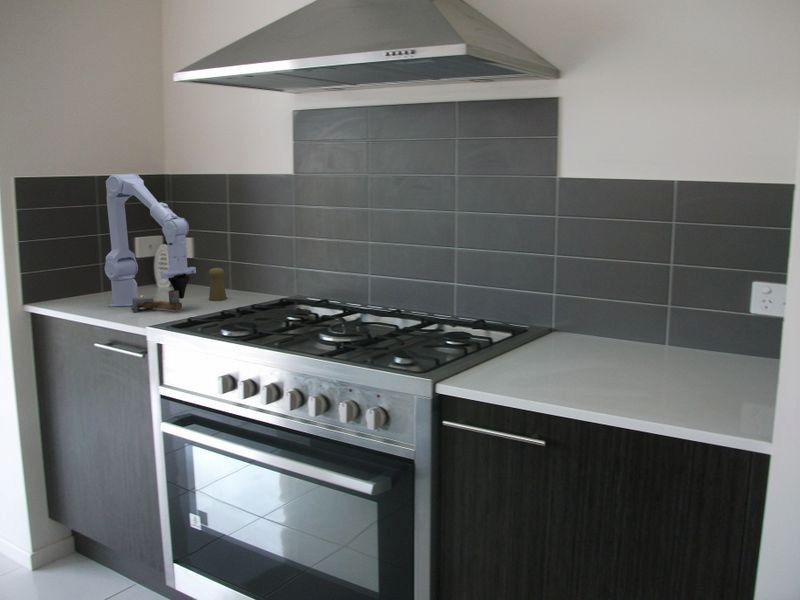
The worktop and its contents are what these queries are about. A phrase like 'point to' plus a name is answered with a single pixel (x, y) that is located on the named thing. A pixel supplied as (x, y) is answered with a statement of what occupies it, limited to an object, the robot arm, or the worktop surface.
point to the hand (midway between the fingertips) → (180, 298)
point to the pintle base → (142, 307)
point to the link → (171, 305)
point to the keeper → (138, 300)
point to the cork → (217, 285)
